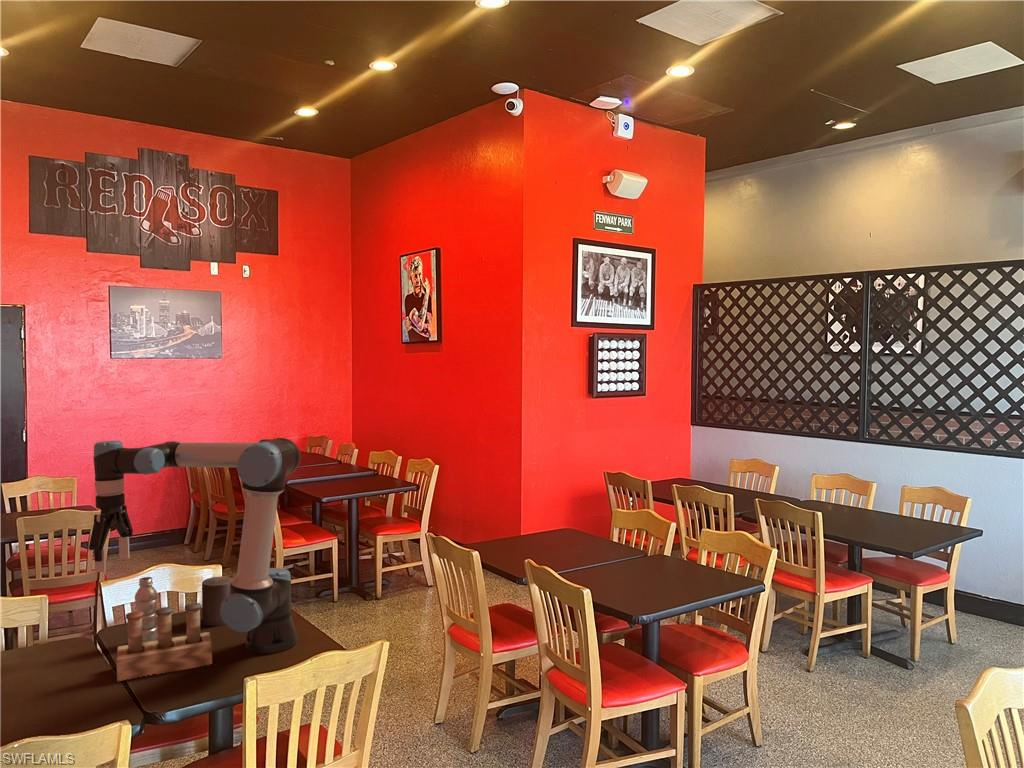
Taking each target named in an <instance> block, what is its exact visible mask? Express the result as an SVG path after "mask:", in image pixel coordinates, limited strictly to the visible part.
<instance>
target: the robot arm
mask: <svg viewBox="0 0 1024 768" xmlns="http://www.w3.org/2000/svg"><path fill="white" fill-rule="evenodd" d="M301 456H302V455H301V451H300V449H299V447H298V445H297V444H296V443H295V442H294V441H293V440H291V439H289V438H284V437H276V438H269V439H268V438H267V439H263V438H262V439H260V440H258V441H257V442H179V441H177V440H176V441H175V440H174V441H173V440H172V441H165V442H163V443H158V444H153V445H148V446H142V447H135V448H134V447H130V448H128V447H124V446H123V442H122V441H121V440H103V441H99V442H96V443H94V445H93V456H92V459H93V466H94V469H93V470H94V483H93V485H94V487H95V488H94V489H95V490H94V491H95V492H94V493H95V494H96V495H95V508H96V509H98V510H100V513H99V514H94V515H93V526H92V530H91V535H90V540H89V545H88V550H90V551H93V552H94V553H93V556H94V558H93V559H94V573H105V572H107V562H106V549H105V548H104V547H105V544H106V540H107V538H108V535H109V532H110V530H111V529H112V528H113V526H114V528H115V530H116V531H117V533H118V535H119V536H120V537H118V553H119V554H118V555H119V557H118V558H119V559H120V560H126V559H127V560H128V559H130V556H131V555H130V537H133V532H134V529H133V526H132V523H131V519H130V517H129V514H128V509H127V508H128V507H127V505H126V499H125V498H126V497H125V493H124V491H125V476H124V475H125V474H126V475H127V474H128V475H129V474H130V475H131V474H132V475H133V474H134V475H151V474H154V475H155V474H157V473H158V474H159V472H161V470H162V469H165V468H236V469H237V473H238V476H239V477H240V479H241V481H242V484H241V489H243V490H244V492H245V493H246V496H245V497H246V498H245V506H244V514H243V521H242V522H243V523H242V531H241V539H240V545H239V546H240V547H239V556H238V563H237V570H236V571H237V572H236V575H235V576H233V577H231V578H232V579H231V582H230V590H229V595H228V596H227V597H226V598H225V599H224V601H223V602H222V604H221V607H220V614H221V617H222V620H223V621H224V623H226V624H225V625H226V626H227V628H229V629H231V630H232V631H234V632H238V633H246V632H247V633H246V637H245V649H246V650H247V651H249V652H250V653H254V654H255V653H256V654H273V653H274V654H275V653H278V652H279V653H280V652H282V651H286V650H288V649H290V648H292V647H294V646H295V645H297V643H298V632H297V629H296V626H295V624H294V623H295V622H294V621H293V618H292V579H291V572H290V571H289V569H286V568H280V567H270V565H271V557H272V550H273V541H274V534H275V532H274V531H275V526H276V517H277V509H278V501H279V496H280V494H282V493H283V492H284V491H285V488H286V480H287V477H288V476H289V475H291V474H293V473H294V472H295V471H296V470H297V469H298V467H299V465H300V462H301V458H302V457H301Z"/></svg>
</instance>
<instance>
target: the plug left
mask: <svg viewBox="0 0 1024 768" xmlns="http://www.w3.org/2000/svg"><path fill="white" fill-rule="evenodd" d="M201 609H202V603H200V602H191V603H188V604H186V605H184V611H185V613H186V614H185V615H186V617H185V618H186V622H185V623H186V636H187V644H193V643H199V642H200V633H201Z"/></svg>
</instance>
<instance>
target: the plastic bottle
mask: <svg viewBox="0 0 1024 768" xmlns="http://www.w3.org/2000/svg"><path fill="white" fill-rule="evenodd" d="M138 580H139V582H138V586H139V587H138V589H137V590H136V592H135V595H134V602H135V607H136V611H142V612H143V617H142V642H149V641H156V640H158V621H157V615H156V610H157V603H158V592H157V590H156V588H155V587H154V586H153V577H151V576H145V577H141V578H139V579H138Z"/></svg>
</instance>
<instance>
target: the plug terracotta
mask: <svg viewBox="0 0 1024 768" xmlns="http://www.w3.org/2000/svg"><path fill="white" fill-rule="evenodd" d="M142 617H143V612H142V611H137V610H135V611H131V612H127V613H126V614H125V619H126V620H127V645H128V654H133V653H139V652H142V651H143V642H142Z"/></svg>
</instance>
